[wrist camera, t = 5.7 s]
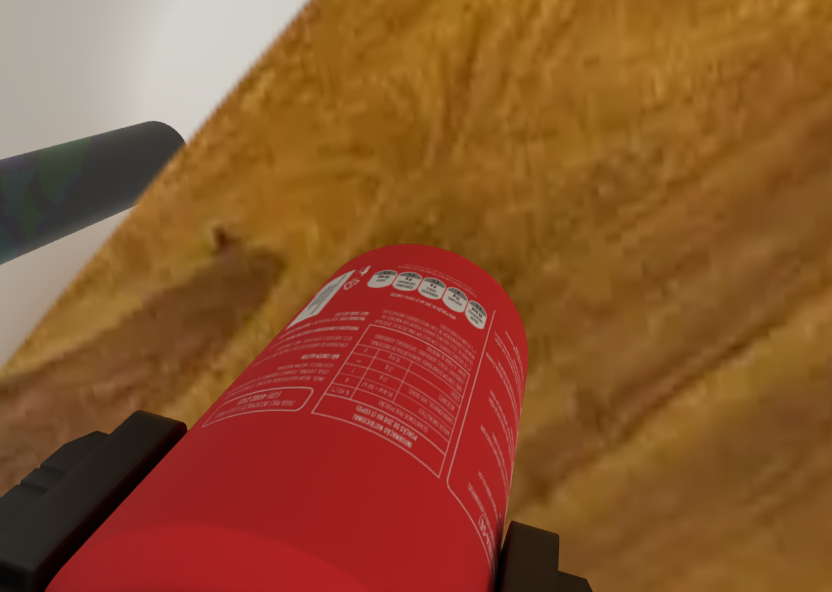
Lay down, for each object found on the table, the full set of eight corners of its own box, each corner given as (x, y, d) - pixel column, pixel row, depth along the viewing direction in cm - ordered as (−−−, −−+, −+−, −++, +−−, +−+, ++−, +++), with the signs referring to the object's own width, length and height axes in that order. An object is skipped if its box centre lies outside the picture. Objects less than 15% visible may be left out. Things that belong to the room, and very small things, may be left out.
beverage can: (577, 322, 18) (571, 822, 7) (446, 462, 20) (280, 1022, 9) (399, 185, 18) (99, 481, 7) (285, 342, 20) (-91, 769, 9)
